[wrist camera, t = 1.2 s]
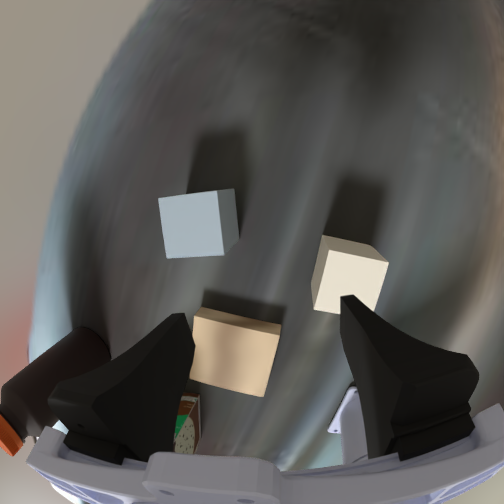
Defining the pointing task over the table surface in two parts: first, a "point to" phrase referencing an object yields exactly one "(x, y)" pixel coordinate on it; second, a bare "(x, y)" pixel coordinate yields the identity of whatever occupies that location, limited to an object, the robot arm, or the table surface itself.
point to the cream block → (346, 274)
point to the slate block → (199, 223)
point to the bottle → (45, 386)
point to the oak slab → (233, 351)
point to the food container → (188, 425)
